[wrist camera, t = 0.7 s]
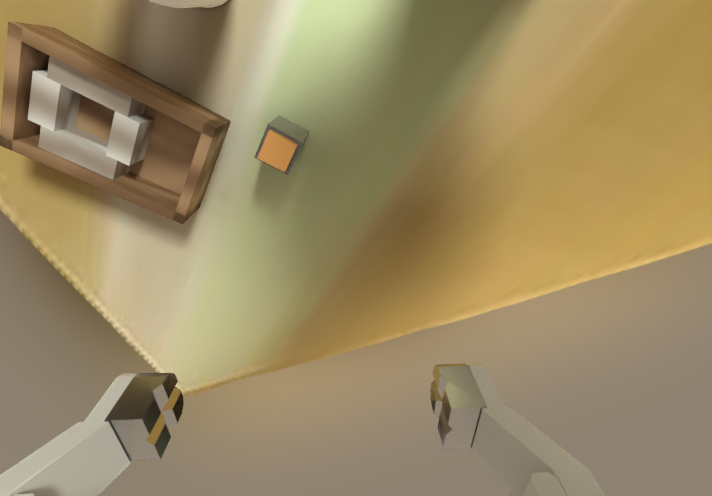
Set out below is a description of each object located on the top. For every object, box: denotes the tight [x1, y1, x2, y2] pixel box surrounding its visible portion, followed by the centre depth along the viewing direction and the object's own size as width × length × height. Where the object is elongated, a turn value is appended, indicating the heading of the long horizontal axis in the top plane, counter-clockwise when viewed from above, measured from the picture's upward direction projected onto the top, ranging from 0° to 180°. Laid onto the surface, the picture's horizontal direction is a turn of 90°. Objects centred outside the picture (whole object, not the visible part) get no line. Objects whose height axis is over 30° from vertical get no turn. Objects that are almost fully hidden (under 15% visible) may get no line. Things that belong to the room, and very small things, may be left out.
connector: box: [254, 116, 308, 174], centre depth 40 cm, size 4×4×8 cm
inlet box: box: [0, 21, 230, 224], centre depth 39 cm, size 13×20×6 cm, turn 61°
